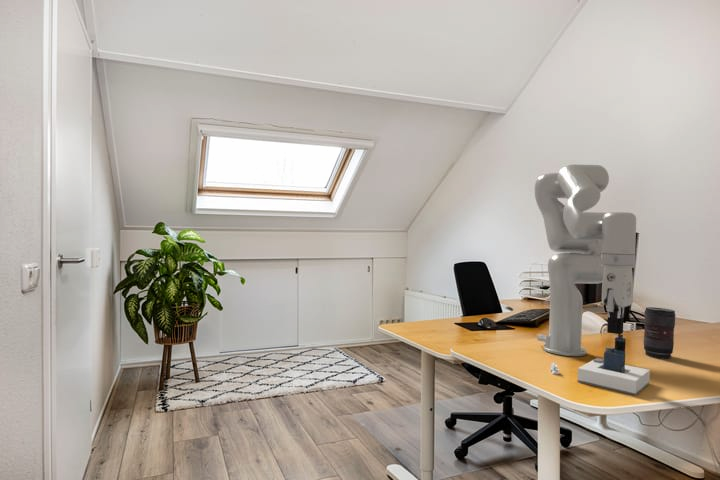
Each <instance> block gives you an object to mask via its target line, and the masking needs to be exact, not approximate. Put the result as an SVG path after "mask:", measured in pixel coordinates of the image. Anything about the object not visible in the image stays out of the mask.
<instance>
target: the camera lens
mask: <svg viewBox="0 0 720 480" xmlns="http://www.w3.org/2000/svg"><path fill="white" fill-rule="evenodd" d="M643 318H644V319H643V323H644V334H643V349H644V351H645V352H644V353H645V355H646V356H647V357H650V358H654V359H660V360H661V359H662V360H666V359H667V360H669V359H671V358H672V354H673V353H674V342H675V341H674V340H675V339H674V338H675V337H674V336H675V333H674V332H675V326H676V325H675V324H676V311H675V310H673V309H670V308H662V307H650V306H648V307H647V306H646V307H645V310H644V317H643Z"/></svg>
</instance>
